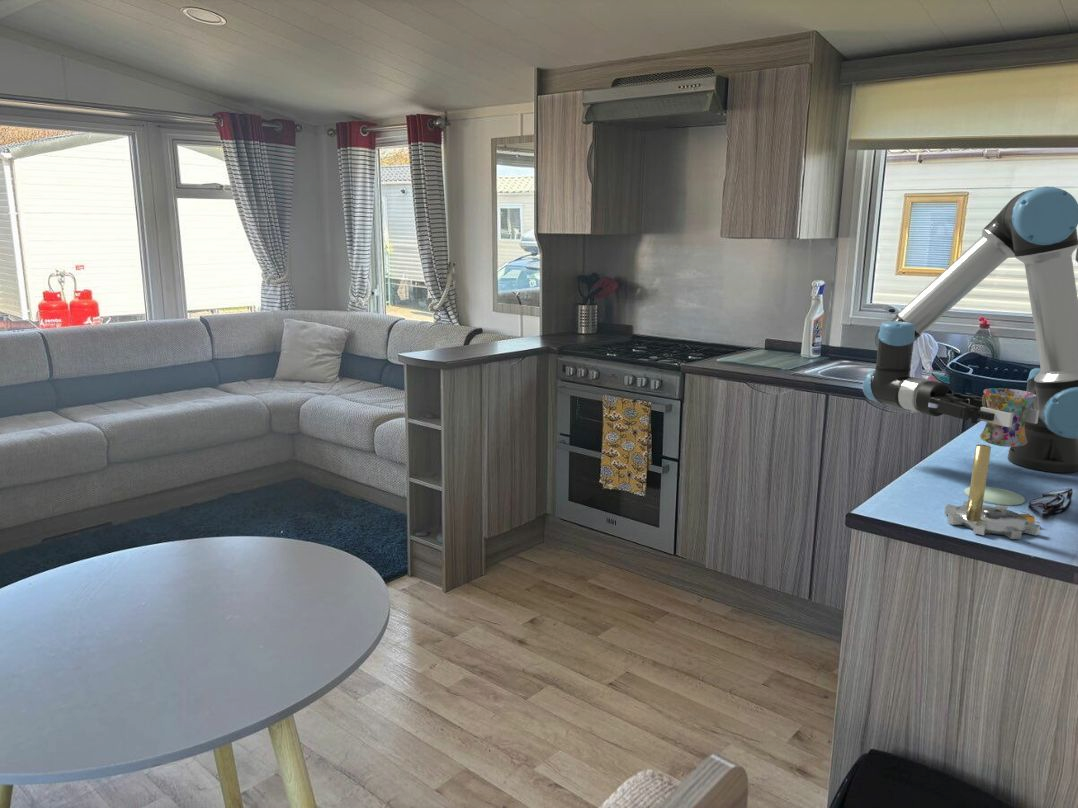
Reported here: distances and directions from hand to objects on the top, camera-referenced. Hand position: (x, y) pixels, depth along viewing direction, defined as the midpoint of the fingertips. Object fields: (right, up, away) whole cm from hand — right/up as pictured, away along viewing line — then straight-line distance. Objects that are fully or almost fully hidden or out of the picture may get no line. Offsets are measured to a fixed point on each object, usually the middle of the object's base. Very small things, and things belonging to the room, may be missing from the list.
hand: (1024, 418), depth 159 cm
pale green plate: (-1, -16, +8) cm, 18 cm away
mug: (-2, -5, +6) cm, 8 cm away
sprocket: (-11, -20, -8) cm, 24 cm away
